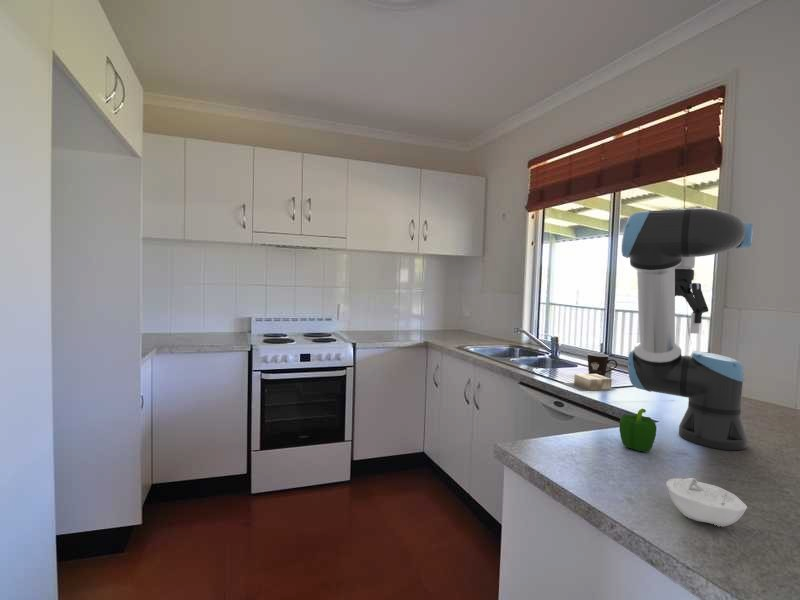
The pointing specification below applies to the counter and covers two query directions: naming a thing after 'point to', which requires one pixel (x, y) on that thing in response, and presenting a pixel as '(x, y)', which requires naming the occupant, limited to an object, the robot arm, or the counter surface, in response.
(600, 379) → the birch block
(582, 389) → the mat
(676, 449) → the counter surface
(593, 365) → the coffee mug
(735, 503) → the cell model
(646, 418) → the bell pepper
